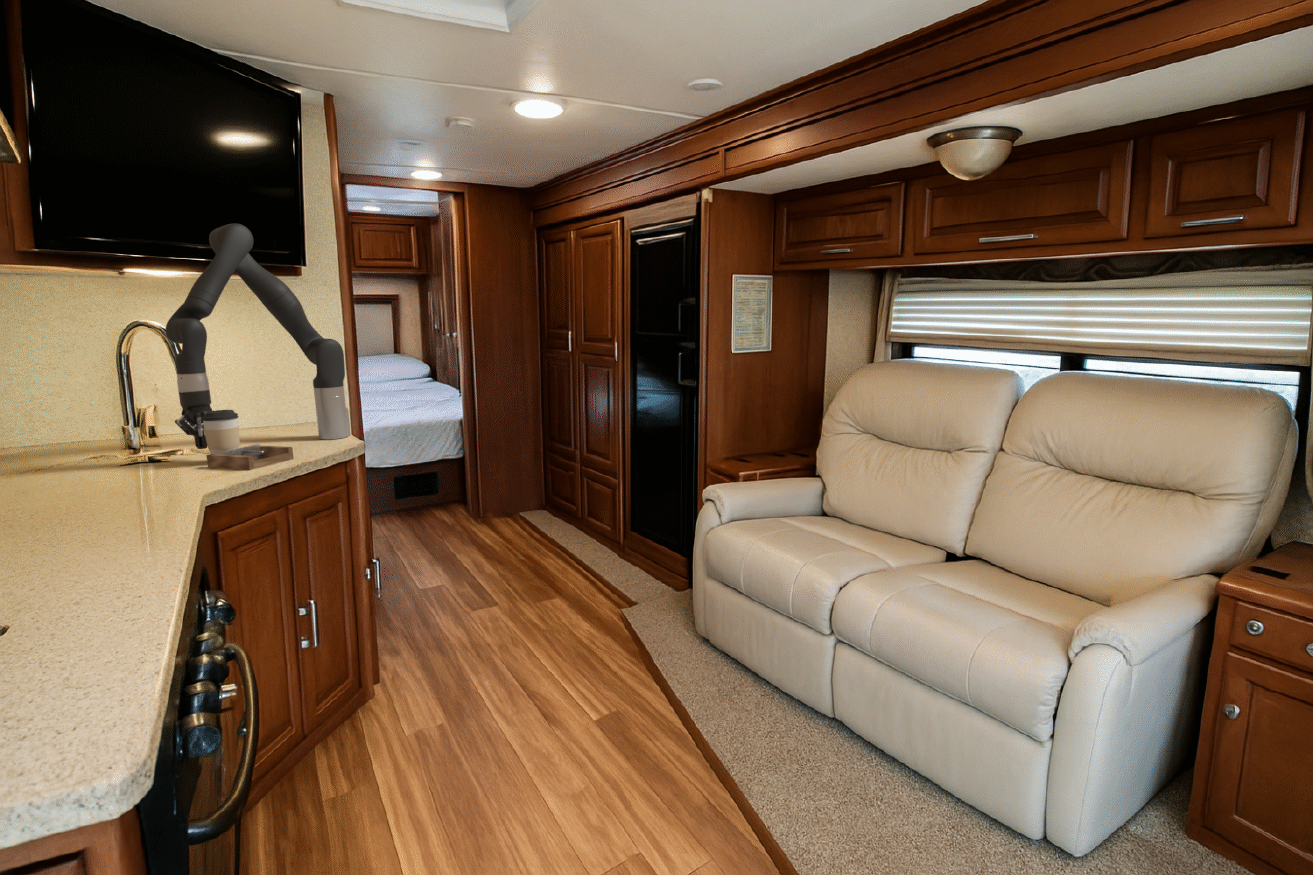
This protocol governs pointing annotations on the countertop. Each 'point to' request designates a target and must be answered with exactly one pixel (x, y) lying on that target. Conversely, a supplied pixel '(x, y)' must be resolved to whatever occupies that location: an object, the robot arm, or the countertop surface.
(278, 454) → the wooden tray
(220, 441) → the coffee cup
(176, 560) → the countertop surface
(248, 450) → the pusher
